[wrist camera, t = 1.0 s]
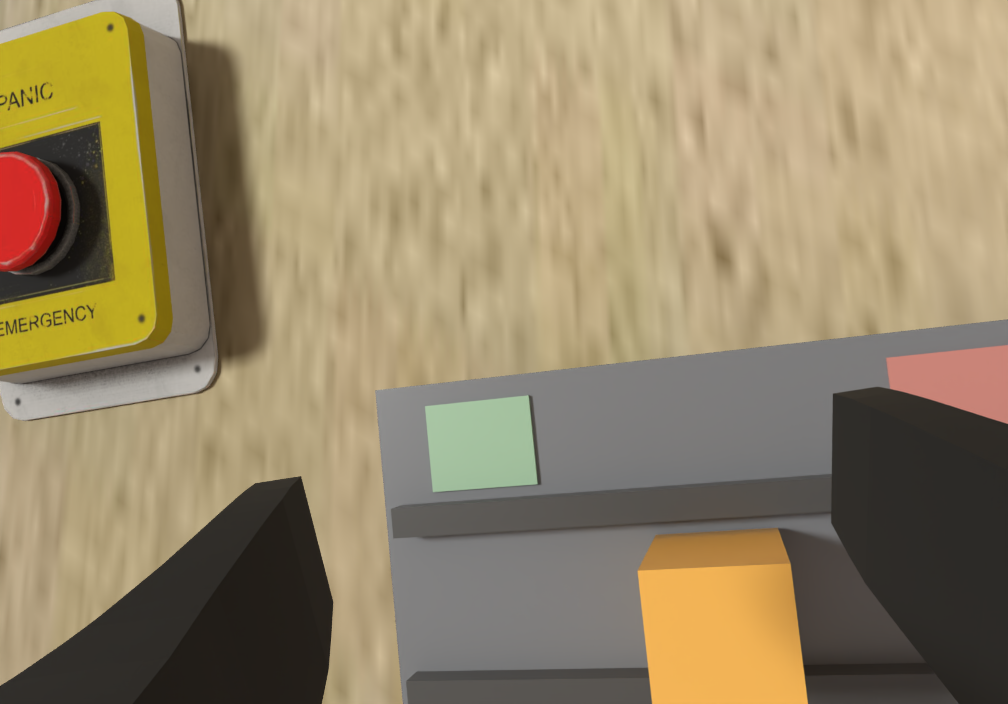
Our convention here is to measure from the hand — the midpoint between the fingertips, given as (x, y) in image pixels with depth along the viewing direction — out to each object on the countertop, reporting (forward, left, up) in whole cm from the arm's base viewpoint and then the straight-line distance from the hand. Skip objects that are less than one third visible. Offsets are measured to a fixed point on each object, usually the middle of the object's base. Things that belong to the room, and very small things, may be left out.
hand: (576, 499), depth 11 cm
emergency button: (+10, +20, -15) cm, 26 cm away
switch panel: (-4, -1, -14) cm, 14 cm away
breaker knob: (-4, -1, -11) cm, 11 cm away
